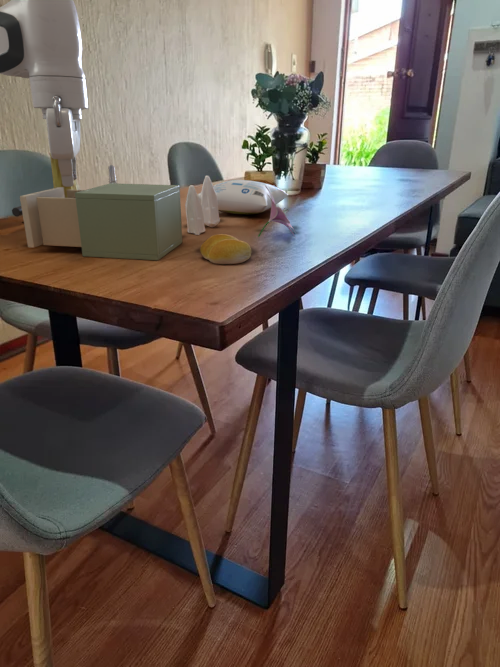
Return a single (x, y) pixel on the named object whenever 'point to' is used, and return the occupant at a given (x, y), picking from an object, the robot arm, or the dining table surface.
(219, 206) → the pouch
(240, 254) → the bread roll
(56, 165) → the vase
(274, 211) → the lily
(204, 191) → the shaker set
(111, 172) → the screw
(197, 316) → the dining table surface
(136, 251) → the cabinet
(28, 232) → the drawer
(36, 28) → the robot arm
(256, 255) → the dining table surface
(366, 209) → the dining table surface
